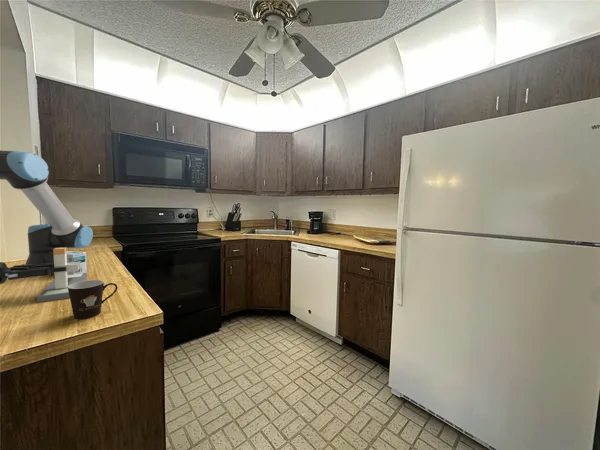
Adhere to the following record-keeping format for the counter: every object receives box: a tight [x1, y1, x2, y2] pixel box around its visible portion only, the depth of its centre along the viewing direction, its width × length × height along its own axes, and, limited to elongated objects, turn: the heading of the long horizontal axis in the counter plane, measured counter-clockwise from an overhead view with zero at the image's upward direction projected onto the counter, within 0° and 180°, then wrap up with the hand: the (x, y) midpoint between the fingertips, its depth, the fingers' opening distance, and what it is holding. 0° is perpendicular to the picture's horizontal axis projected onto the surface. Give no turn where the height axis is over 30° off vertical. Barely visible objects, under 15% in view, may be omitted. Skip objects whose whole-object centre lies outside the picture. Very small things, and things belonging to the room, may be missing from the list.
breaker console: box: [36, 272, 88, 303], centre depth 99 cm, size 28×10×2 cm, turn 35°
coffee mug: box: [68, 279, 118, 320], centre depth 77 cm, size 12×9×10 cm
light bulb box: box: [66, 250, 88, 275], centre depth 117 cm, size 11×7×11 cm, turn 84°
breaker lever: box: [53, 247, 68, 289], centre depth 92 cm, size 3×3×15 cm
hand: (78, 266), depth 95 cm, fingers closed on breaker lever, 3 cm apart
